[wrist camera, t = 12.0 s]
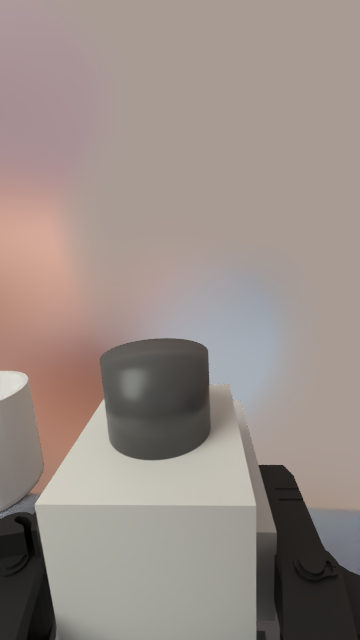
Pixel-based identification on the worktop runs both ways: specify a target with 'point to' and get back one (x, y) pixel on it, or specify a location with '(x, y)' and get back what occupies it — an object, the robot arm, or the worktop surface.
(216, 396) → the plug
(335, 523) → the worktop surface
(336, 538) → the worktop surface
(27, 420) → the mug
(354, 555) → the worktop surface
